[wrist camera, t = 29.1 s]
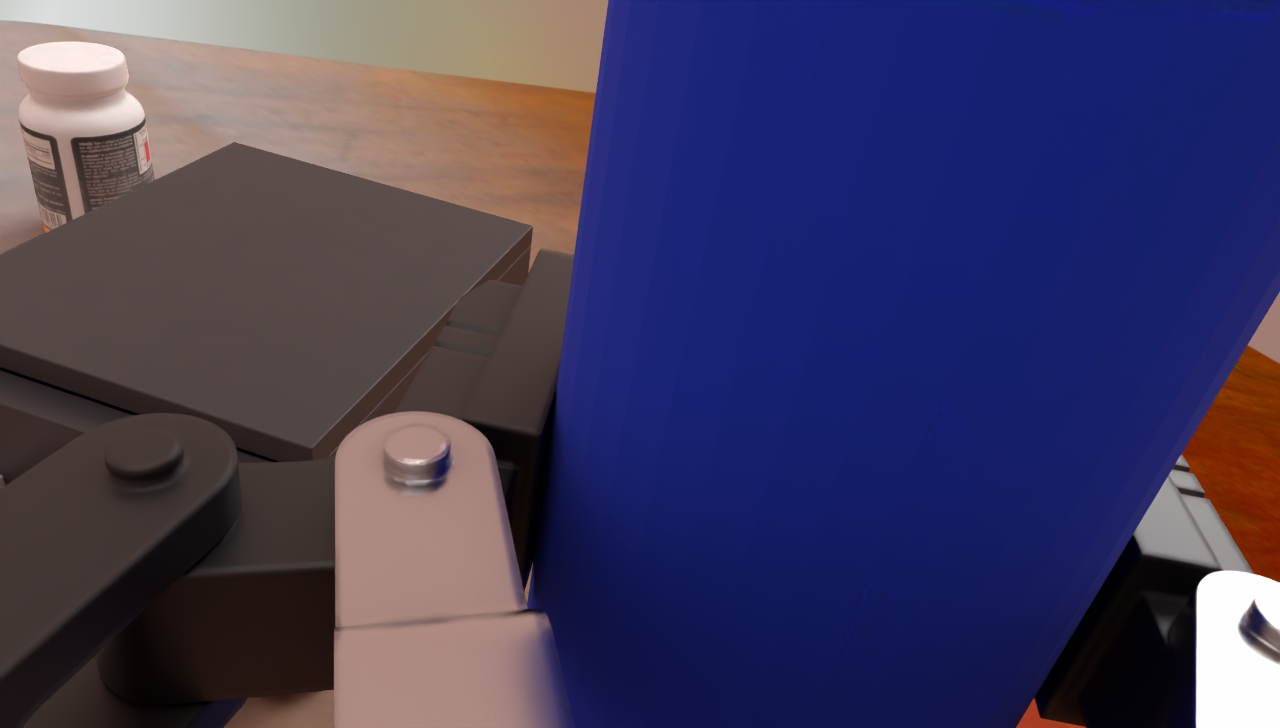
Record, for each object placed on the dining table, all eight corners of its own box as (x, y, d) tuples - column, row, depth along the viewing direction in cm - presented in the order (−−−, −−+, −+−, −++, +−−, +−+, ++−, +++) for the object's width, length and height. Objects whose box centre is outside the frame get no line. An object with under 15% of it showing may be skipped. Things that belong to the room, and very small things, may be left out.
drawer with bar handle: (192, 814, 26) (153, 609, 21) (-177, 663, 28) (-287, 445, 23) (480, 433, 42) (493, 266, 37) (229, 353, 44) (211, 185, 39)
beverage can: (903, 991, 14) (1671, -166, 6) (620, 1260, 11) (1364, -334, 3) (684, 726, 17) (976, -260, 9) (421, 878, 14) (494, -385, 6)
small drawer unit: (323, 689, 31) (311, 448, 25) (-28, 557, 33) (-112, 307, 27) (513, 424, 44) (533, 225, 38) (251, 341, 46) (234, 141, 40)
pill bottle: (168, 213, 55) (145, 41, 50) (155, 260, 51) (128, 78, 45) (57, 210, 53) (20, 33, 48) (33, 260, 49) (-10, 70, 44)
